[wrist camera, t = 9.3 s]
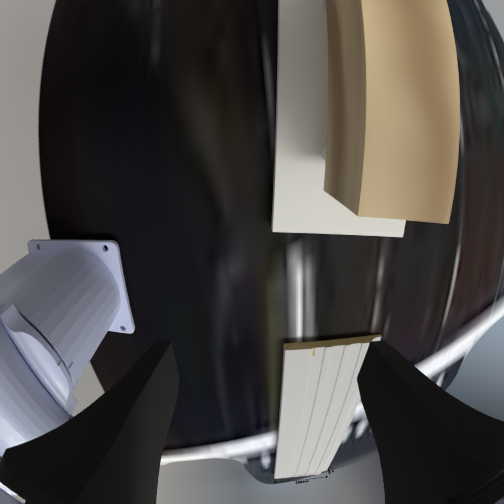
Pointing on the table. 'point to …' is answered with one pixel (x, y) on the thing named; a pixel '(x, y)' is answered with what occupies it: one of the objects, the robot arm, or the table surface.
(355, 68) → the tan block
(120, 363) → the table surface
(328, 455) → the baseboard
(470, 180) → the table surface
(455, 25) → the table surface
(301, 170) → the peg rack
